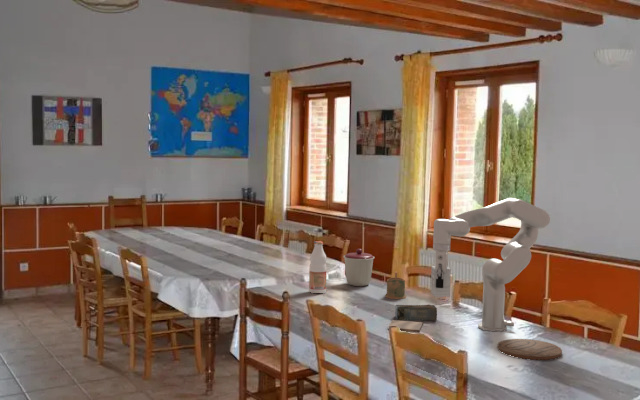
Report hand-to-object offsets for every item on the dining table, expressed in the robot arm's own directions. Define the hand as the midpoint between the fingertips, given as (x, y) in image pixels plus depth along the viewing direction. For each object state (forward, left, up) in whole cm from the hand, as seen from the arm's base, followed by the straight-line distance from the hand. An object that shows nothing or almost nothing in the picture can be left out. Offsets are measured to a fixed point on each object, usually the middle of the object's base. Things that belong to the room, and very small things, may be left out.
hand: (440, 285), depth 318 cm
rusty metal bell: (+29, -65, -20) cm, 74 cm away
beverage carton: (+12, -17, -20) cm, 30 cm away
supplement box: (0, 0, -5) cm, 5 cm away
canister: (+54, -87, -20) cm, 104 cm away
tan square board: (+15, 0, -20) cm, 25 cm away
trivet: (-38, +21, -21) cm, 48 cm away
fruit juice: (+71, -58, -20) cm, 94 cm away
